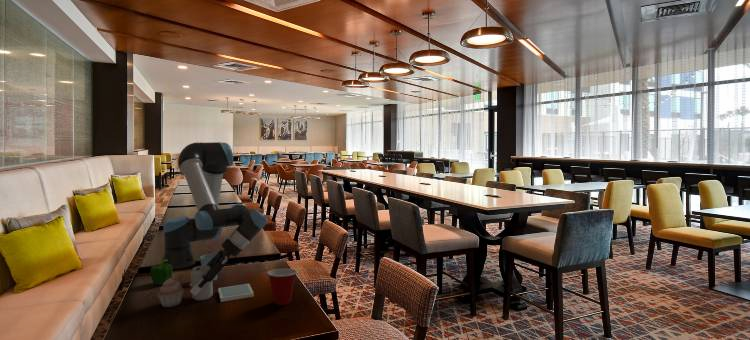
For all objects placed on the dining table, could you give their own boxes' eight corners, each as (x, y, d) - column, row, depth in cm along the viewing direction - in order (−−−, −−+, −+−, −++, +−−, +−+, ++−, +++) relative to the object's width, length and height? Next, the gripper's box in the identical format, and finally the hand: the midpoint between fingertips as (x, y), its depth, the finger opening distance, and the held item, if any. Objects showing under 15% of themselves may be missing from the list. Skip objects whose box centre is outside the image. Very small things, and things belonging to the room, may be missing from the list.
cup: (218, 275, 186) (217, 252, 185) (221, 280, 179) (220, 256, 178) (200, 278, 182) (199, 255, 181) (202, 283, 175) (201, 259, 174)
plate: (218, 291, 165) (218, 287, 165) (249, 287, 170) (249, 283, 170) (220, 302, 154) (220, 297, 154) (253, 296, 159) (253, 292, 159)
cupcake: (188, 298, 158) (187, 273, 157) (181, 308, 149) (180, 281, 148) (162, 300, 156) (161, 274, 156) (153, 310, 147) (152, 282, 147)
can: (196, 294, 162) (194, 264, 161) (215, 293, 163) (214, 264, 162) (189, 301, 155) (187, 270, 154) (209, 300, 155) (208, 269, 155)
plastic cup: (303, 298, 156) (302, 267, 155) (288, 309, 146) (287, 276, 145) (278, 295, 160) (277, 265, 159) (262, 306, 150) (261, 273, 149)
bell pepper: (150, 288, 170) (149, 264, 170) (151, 282, 178) (150, 259, 177) (172, 285, 174) (171, 261, 173) (173, 279, 181) (172, 257, 181)
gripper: (246, 255, 155) (201, 304, 149) (239, 243, 173) (199, 287, 168) (230, 243, 152) (184, 293, 147) (225, 232, 171) (184, 276, 165)
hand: (192, 290), depth 157 cm, fingers closed on can, 7 cm apart
